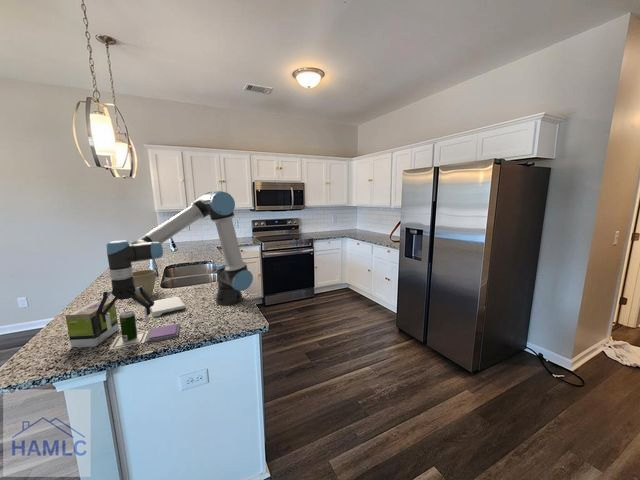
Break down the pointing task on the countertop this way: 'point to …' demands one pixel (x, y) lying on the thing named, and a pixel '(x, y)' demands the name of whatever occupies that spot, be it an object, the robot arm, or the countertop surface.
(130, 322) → the beer can
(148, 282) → the plant pot
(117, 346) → the print sheet
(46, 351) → the countertop surface
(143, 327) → the countertop surface
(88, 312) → the tea box
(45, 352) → the countertop surface
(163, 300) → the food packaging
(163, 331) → the ink pad
